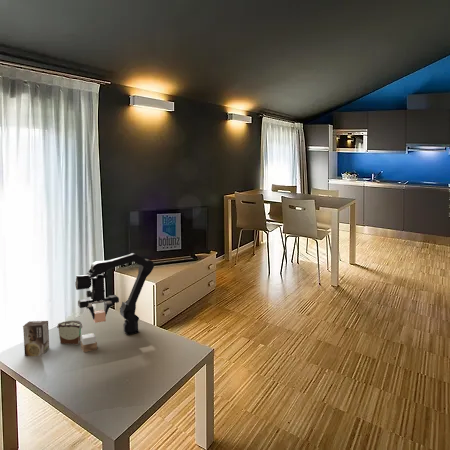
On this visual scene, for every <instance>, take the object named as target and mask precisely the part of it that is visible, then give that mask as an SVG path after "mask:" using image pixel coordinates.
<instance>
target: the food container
mask: <svg viewBox="0 0 450 450" xmlns="http://www.w3.org/2000/svg"><path fill="white" fill-rule="evenodd" d="M57 329H58V334H59V341H60V344H66V345H77V346H78V345H81V333H82V329H83V323H82V322H81V321H80V320H67V321H66V320H65V321H62V322H59V323H57Z"/></svg>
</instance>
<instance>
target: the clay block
mask: <svg viewBox="0 0 450 450" xmlns="http://www.w3.org/2000/svg"><path fill="white" fill-rule="evenodd" d="M106 317H107V315H106V316H105V311H104V309H99V310H94V319H93V318H92V321H93V322H94V323H95V324H96V323H97V324H98V323H103V322H106V321H107V319H106Z"/></svg>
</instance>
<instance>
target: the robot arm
mask: <svg viewBox="0 0 450 450" xmlns="http://www.w3.org/2000/svg"><path fill="white" fill-rule="evenodd" d="M130 263H135V264H137V265H138V271H137V272H138V273H137V276H136V279H135V280H134V284H133V286H132V288H131V291H130V294H129V296H128V298H127V299H126V301H122V303H121V306H120V307H119V310H120V311H119V314H120V315H121V317H122V318H124V323H123V332H124V333H125V334H126V335H132V334H136V333H140V330H139V320H140V317H139V316H138V315H136V310H137V301H138V299H139V296H140V294H141V291H142V289H143V287H144V285H145V281H146V280H147V277H148V276H149V275H151V273H152V272H153V270H154V267H155V264H154V261H152V260H150V259H148V258H144V257H141V256H140V255H138V254H137V253H134V252H131V253H130V254H126V255H123V256H119V257H116V258H111V259H107V260H97V261H94V262H93V261H92V263H91V265H90V269H88V271H87V273H86V274H83V275H80V274H79V275H76V276H75V281H74V282H75V283H74V284H75V290H77V291H79V290H86V298H82V299H79V300H78V301H77V306H78V308H80V309H82V308H84V309H85V308H86V309H87V310H89V312H90V315H91V317H92V320H93V319H94V311H95V309H94V306H93V305H95V304H101V303H103V307H104V309H103V310H104V311H105V316H106V317H107V315H108V312H109V309H110V308H111V307H112V305H114V304H117V303H120V298H119V296H118V295H116V294H113V295H111V294H110V295H108V296H107V297H105V295H106V294H105V293H106V290H105V279H108V278H109V275H108V274H106V272H108V271H109V270H111V269H113V268H117V267H120V266H124V265H126V264H130ZM90 288H91V290H89V289H90ZM87 298H90V300H88V299H87Z"/></svg>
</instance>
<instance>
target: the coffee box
mask: <svg viewBox="0 0 450 450" xmlns="http://www.w3.org/2000/svg"><path fill="white" fill-rule="evenodd" d="M22 329H23V332H22V333H23V343H24V344H23V346H24V347H23V348H24V357H42V354H46V353H47V351H49V350H50V335H49V334H50V333H49V320H37V321H36V320H33V321H31V320H30V321H28V322H27V323H25V324H24V325H22Z"/></svg>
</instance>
